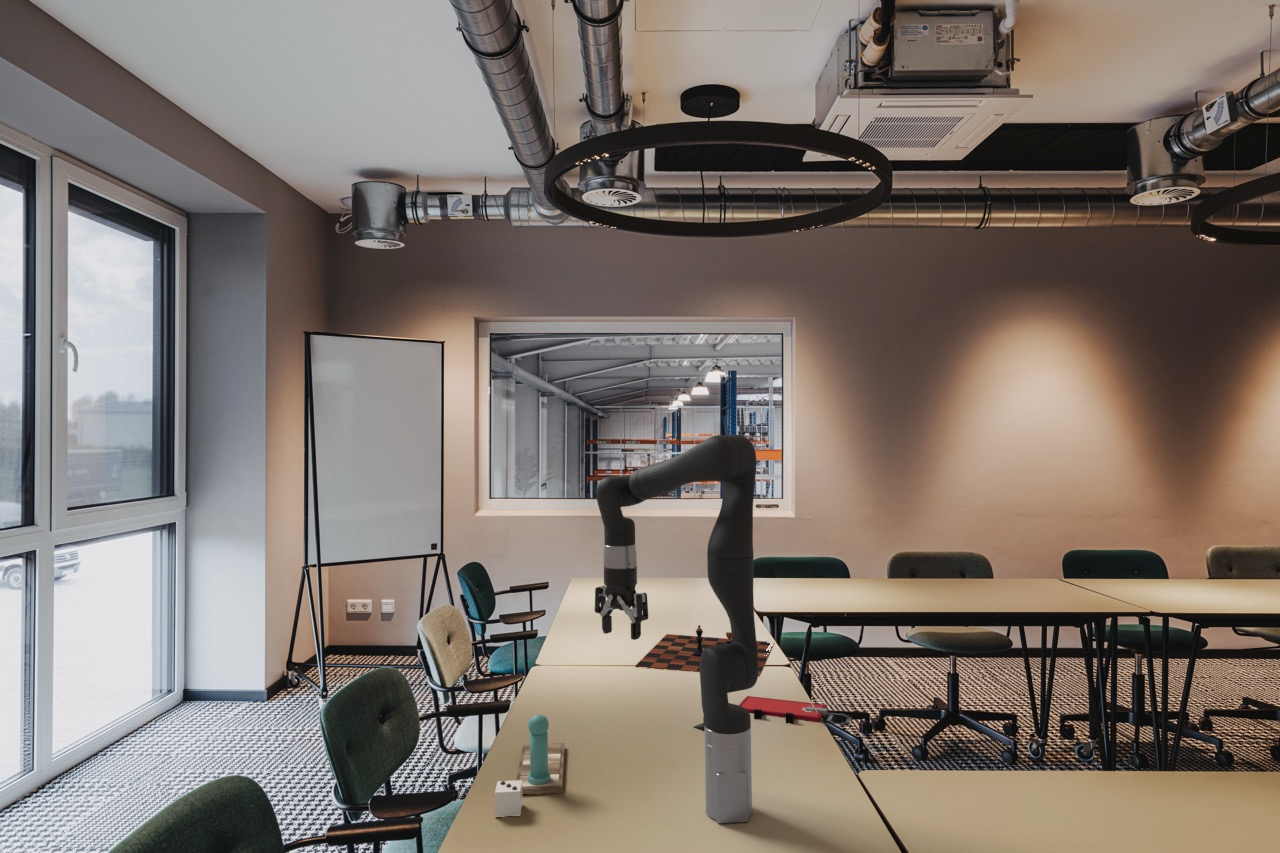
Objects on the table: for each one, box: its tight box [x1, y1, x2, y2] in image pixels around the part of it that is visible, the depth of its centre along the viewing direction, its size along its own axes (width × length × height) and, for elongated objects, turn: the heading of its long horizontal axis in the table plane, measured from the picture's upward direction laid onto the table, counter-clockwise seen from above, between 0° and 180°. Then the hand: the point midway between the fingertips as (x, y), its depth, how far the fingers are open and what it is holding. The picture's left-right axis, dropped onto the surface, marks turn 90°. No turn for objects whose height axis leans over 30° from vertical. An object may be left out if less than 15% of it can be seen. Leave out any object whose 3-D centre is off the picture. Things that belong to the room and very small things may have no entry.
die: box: [494, 780, 523, 817], centre depth 157 cm, size 5×5×6 cm
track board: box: [515, 742, 566, 795], centre depth 176 cm, size 24×10×1 cm, turn 4°
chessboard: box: [635, 624, 771, 677], centre depth 266 cm, size 40×40×11 cm
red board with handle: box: [738, 695, 853, 727], centre depth 209 cm, size 30×3×15 cm
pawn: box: [527, 714, 550, 785], centre depth 168 cm, size 5×5×14 cm
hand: (621, 635), depth 176 cm, fingers open, 8 cm apart
